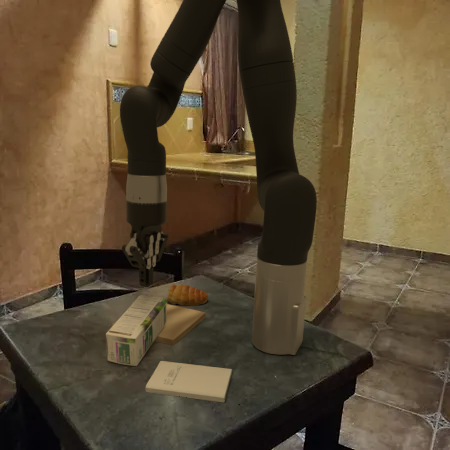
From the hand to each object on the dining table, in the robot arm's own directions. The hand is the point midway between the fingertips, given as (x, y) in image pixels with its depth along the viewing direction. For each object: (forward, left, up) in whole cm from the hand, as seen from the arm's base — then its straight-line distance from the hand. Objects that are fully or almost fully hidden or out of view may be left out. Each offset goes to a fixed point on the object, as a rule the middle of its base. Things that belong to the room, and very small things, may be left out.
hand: (146, 285), depth 86 cm
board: (-1, -4, -10) cm, 10 cm away
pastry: (0, -17, -10) cm, 20 cm away
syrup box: (-1, -1, -5) cm, 5 cm away
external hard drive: (-17, +12, -10) cm, 23 cm away
